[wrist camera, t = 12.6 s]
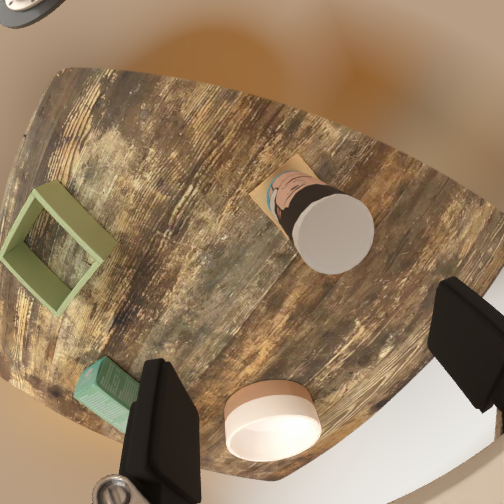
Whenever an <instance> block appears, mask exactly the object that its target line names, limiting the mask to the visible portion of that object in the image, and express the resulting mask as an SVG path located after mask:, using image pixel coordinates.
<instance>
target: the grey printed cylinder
mask: <svg viewBox="0 0 504 504" xmlns="http://www.w3.org/2000/svg"><path fill="white" fill-rule="evenodd" d="M266 200H267V204H268V208H269V209H270V211H271V212H272V214H273V215H274V217H275V218H276V220H277V221H278V223H279V224H280V226H281V227H282V228H283V230H284V231H285V233H286V234H287V236H288V237H289V239H290V240H291V242H292V243H293V245H294V246H295V248H296V249H297V251H298V252H299V253H300V255H301V256H302V258H303V259H304V261H305V262H306V264H307V265H308V266H310V267H311V268H312V269H314V270H315V271H317V272H321V273H324V274H339V273H342V272H345V271H348V270H350V269H351V268H353V267H354V266H356V265H357V264H359V263H360V262H361V260H362V259H363V258H364V257H365V256H366V255H367V253H368V251H369V249H370V247H371V245H372V242H373V236H374V223H373V218H372V216H371V214H370V212H369V210H368V208H367V207H366V206H365V205H364V204H363V203H362V202H361V201H359V200H358V199H356V198H354V197H352V196H350V195H348V194H346V193H344V192H342V191H340V190H338V189H336V188H334V187H332V186H330V185H328V184H326V183H324V182H322V181H320V180H318V179H316V178H314V177H311V176H309V175H307V174H305V173H302V172H300V171H287V172H283V173H281V174H280V175H278V176H277V177H275V178H274V180H273V181H272V182H271V183H270V185H269V188H268V190H267V199H266Z"/></svg>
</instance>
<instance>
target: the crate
mask: <svg viewBox="0 0 504 504" xmlns="http://www.w3.org/2000/svg"><path fill="white" fill-rule="evenodd" d="M43 208H45V209H46V210H47V211H48V212H49V213H50V214H51V215H52V216H53V217H54V219H55V220H56V221H57V222H58V223H59V224H60V225H61V226H62V227H63V228H64V229H65V230H66V231H67V232H68V233H69V234H70V235H71V236H72V237H73V238H74V239H75V240H76V241H77V242H78V243H79V244H80V245H81V246H82V247H83V248H84V249H85V250H86V251H87V252H88V253H89V254H90V255H91V256H92V257H93V258H94V259H95V260H96V261H95V262H94V263H93V264H92V266H91V267H90V268H89V269H88V271H87V272H86V273H85V274H84V276H83V277H82V278H81V279H80V281H79V282H78V283H77V285H76V286H75V287H74V288H73V290H71V289H70V288H69V287H68V286H67V285H66V284H64V283H63V282H62V281H61V280H60V279H59V278H58V277H57V276H56V275H55V274H54V273H53V272H52V271H51V270H50V269H49V268H48V267H47V266H46V265H45V264H44V263H43V262H42V261H41V260H40V259H39V258H38V257H37V256H36V254H35V253H34V252H33V251H32V250H31V249H30V248H29V247H28V246H27V245H26V244H25V243H24V240H25V238H26V236H27V235H28V233H29V231H30V229H31V228H32V226H33V224H34V223H35V221H36V219H37V218H38V216H39V214H40V213H41V211H42V210H43ZM117 244H118V242H117V241H116V240H115V239H114V238H113V237H112V236H111V235H110V234H109V233H108V232H107V231H106V230H105V229H104V228H103V227H102V226H101V225H100V224H99V223H98V222H97V221H96V220H95V219H94V218H93V217H92V216H91V215H90V214H89V213H88V212H87V211H86V210H85V209H84V208H83V207H82V206H81V205H80V204H79V203H78V202H77V200H76V199H75V198H74V197H73V196H72V195H71V194H70V193H69V192H68V191H67V190H66V189H65V188H64V187H63V186H62V184H61V183H60V182H59V181H58V180H54V181H51V182H49V183H46V184H44V185H41V186H38V187H36V188H34V189H33V191H32V193H31V194H30V196H29V197H28V199H27V201H26V203H25V204H24V206H23V208H22V210H21V211H20V213H19V215H18V217H17V219H16V220H15V222H14V224H13V226H12V228H11V230H10V232H9V234H8V236H7V238H6V240H5V242H4V244H3V246H2V248H1V251H0V260H1V261H2V262H3V263H4V265H5V266H6V267H7V268H8V269H9V270H10V271H11V272H12V273H13V274H14V276H15V277H16V278H17V279H18V280H19V281H20V282H21V283H22V284H23V285H24V286H25V287H26V288H27V289H28V290H29V291H30V292H31V293H32V294H33V295H34V296H35V297H36V298H37V299H38V300H39V301H40V302H41V303H42V304H43V305H44V306H45V307H46V308H47V309H49V310H50V311H51V312H52V313H53V314H54V315H55V316H56V317H57V318H59V317H60V316H61V314H62V313H63V312H64V310H65V309H66V308H67V306H68V305H69V304H70V302H71V301H72V300H73V298H74V297H75V296H76V295H77V293H78V292H79V291H80V290H81V288H82V287H83V286H84V285H85V283H86V282H87V281H88V280H89V278H90V277H91V276H92V275H93V274H94V272H95V271H96V270H97V269H98V268H99V266H100V265H101V264H102V263H103V262H104V260H105V259H106V258H107V257H108V255H109V254H110V253H111V251H112V250H113V249H114V248H115V246H116V245H117Z"/></svg>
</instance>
